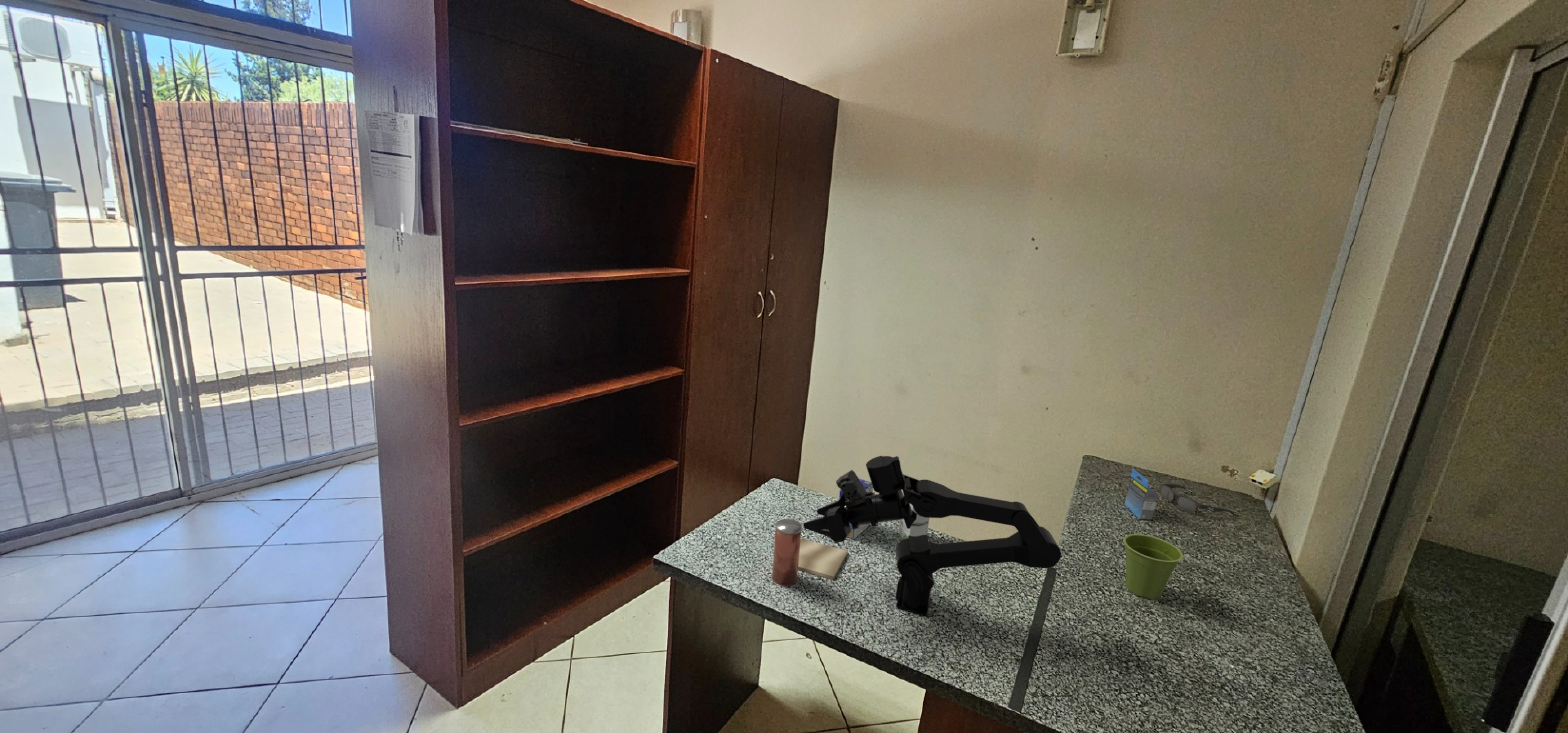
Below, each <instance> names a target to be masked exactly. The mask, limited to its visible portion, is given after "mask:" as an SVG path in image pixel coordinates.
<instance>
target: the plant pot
mask: <svg viewBox="0 0 1568 733" xmlns="http://www.w3.org/2000/svg"><path fill="white" fill-rule="evenodd" d="M1122 541H1123V542H1122V543H1123V544H1124V546H1125V548H1124V549H1125V550H1124V551H1125V555H1126V556H1125V586H1126V588H1127V589H1128V590H1129V591H1130V592H1131V593H1133V594H1134V595H1136V596H1138V597H1144V598H1146V599H1150V600H1155V599H1157V600H1158V599H1160V598H1161V597H1162V595H1163V593H1164V591H1165V589H1166V586H1167V584H1168V582H1169V580H1170V578H1171V576H1172V573H1173V571H1174V569H1175V568H1177V565H1178V563H1180V562H1181V561H1182V560H1183V559H1184V553H1183V552H1182V551H1181V549H1179V548H1178V547H1177V546H1175V545H1174V544H1172V543H1171V542H1169V541H1166V540H1164V539H1161V538H1160V537H1155V536H1152V535H1147V534H1143V533H1142V534H1141V533H1130V534H1127V535H1125V536H1124V537H1123V540H1122Z"/></svg>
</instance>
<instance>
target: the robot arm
mask: <svg viewBox="0 0 1568 733" xmlns="http://www.w3.org/2000/svg"><path fill="white" fill-rule="evenodd" d="M865 466H866V467H865V468H866V470H867V473H868V477H869V480H870V482H871V483H872V486H873V492H872V491H871V492H866V490H865V488H864V486H863V484H862V483H861V481H860V480H859V479H860V478H859V477H858V475H857V474H856V472H855V471H854V470H852V469H851V470H849V471H848V472H846V473H844V474H843V475H841V476H840V477H838V478H837V479H836V480H835V483H836V486H837V487H838V489H840V490H842V492H843V495H842V496H841V498H840V499H839V498H838V499H837V500H836V501H833V502H831V503H828V504H826V505H824V506H821V507H820V508H817V509H816V514H817V515H819V517H817V518H815V519H811V520H808V521H806V522H803V524H802V526H803V528H804V529H805V530H808V531H811V532H814V533H816V534H818V535H819V534H820V535H823V536H824V537H827V538H829V539H830V540H831V541H832V542H833V543H835V544H836V543H837V544H838V543H842V542H845V540H846V539H847V538H848V537H847V536H848V535H849V533H850V531H851V529H850V525H849V523H851V524H852V528H853V529H857V528H858V527H859V526H860V525H866V524H870V525H871V527H877V525H878V524H879V523H884V522H893V521H900V520H901V519H904V521H905V524H906V527H907V529H910V527H911V525H912V524H913V522H914V521H915V520H916V519H917V514H918V515H919V516H922V517H925V518H929V519H931V518H932V519H944V518H947V517H950V516H951V517H952V516H953V517H956V516H957V517H961V518H967V519H973V520H977V521H985V522H991V523H995V524H1002V525H1007V526H1012V527H1014V528H1015V529H1016V530H1017V531H1016V532H1015V533H1013V534H1012V535H1010V536H1008V537H1001V538H989V539H980V540H969V541H968V540H966V541H957V542H946V543H944V542H943V543H935V542H933V541H931V540H929V536H928V534H927V535H920V536H910V535H908V538H907V539H901V540H900V541H899V542H898V543H897V545H896V547H895V558H896V559H895V560H896V569H897V571H898V573H899V575H900V577H899V579H898V581H897V585H896V592H895V600H896V604H895V608H897V609H900V610H903V611H904V610H905V611H908V612H911V613H914V614H918V615H922V616H928V613H929V609H930V604H931V601H932V597H931V596H932V595H931V594H932V588H933V587H934V586H935V580H934V575H933V574H935V573H936V572H938V571H939V570H941V569H945V568H947V569H948V568H956V567H957V568H958V567H959V568H960V567H970V566H971V567H972V566H981V565H993V564H994V565H995V564H1005V563H1015V564H1019V565H1022V566H1025V567H1029V568H1033V569H1034V568H1035V569H1051V568H1054V567H1056V565H1057V564H1058V563H1059V562H1060V560H1061V557H1062V551H1061V548H1060V547H1059V544H1058V543H1057V542H1056V540H1055V538H1054V537H1053V535H1052V533H1051V532H1050V530H1048V529H1046V528H1045V527H1044V526H1040V525H1039V524H1038V522H1037V521H1036V520H1035V518H1034V517H1033V516H1032V515H1031V513H1030V512H1029V511H1028V509H1027V507H1026V505H1025V504H1024V503H1022V502H1020V501H1008V500H1002V499H997V498H991V497H986V496H979V495H975V494H970V493H969V494H968V493H964V492H958V491H955V490H953V489H951V488H949V487H947V486H946V485H944V484H941V483H938V482H935V481H933V480H930V479H917V478H915V477H911V476H909V475H907V474H904V473H903V470H902V467H901V466H902V465H901V461H900V457H899V456H890V455H884V456H883V455H878V456H876V457H873V458H871V459H869V460H868V461H867V462H866V463H865ZM875 493H876V494H875ZM903 494H904V495H903ZM910 504H911V505H913V508H914V510H915V511H916V513H915V512H914V511H912V509H911V506H910Z"/></svg>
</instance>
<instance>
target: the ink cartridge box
mask: <svg viewBox="0 0 1568 733" xmlns="http://www.w3.org/2000/svg"><path fill="white" fill-rule="evenodd" d="M859 480H860V481H861V483H862V484H863V486H864V488H865V490H866V492H871V491H872V492H874V489H873V486H872V483H871V481H868V480H864V479H862V478H859ZM842 495H843V492H842V490H841V489H840V490H839V496H838V500H839V499H840V498H841V496H842ZM849 525H850V529H851V531H850V533H849V535H848V536H847V537H846V538H849V539H851V540H854V539H856V538H857V537H858V536H859V535H860V534H861V533H862V532H864V531H865V530H866V529H867V528H868V527H869V526H870V525H871V524H866V525H860V526H859V527H858V528H857V529H853V528H852V524H851V523H849Z"/></svg>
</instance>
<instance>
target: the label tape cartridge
mask: <svg viewBox="0 0 1568 733" xmlns="http://www.w3.org/2000/svg"><path fill="white" fill-rule="evenodd" d="M1139 478H1140V479H1139ZM1128 484H1129V485H1128V488H1127V492H1126V498H1125V502H1124V506H1125V505H1126V506H1127V507H1126V508H1127V509H1128V508H1129V509H1128V510H1129V511H1130V512H1131V513H1133V514H1134V515H1135V516H1136V517H1137V518H1138V519H1139V520H1146V521H1148V520H1149V521H1151V520H1153V516H1154V512H1155V509H1156V505H1157V501H1158V497H1159V494H1158V493H1157V492H1156V491H1154V490H1153V489H1152V488H1151V487H1150V486H1149V479H1148V478H1147V477H1145V476H1143V475H1142V474H1141V473H1139V472H1138V471H1137V470H1136V469H1134V468H1133V467H1132V470H1131V474H1130V479H1129V483H1128Z"/></svg>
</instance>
